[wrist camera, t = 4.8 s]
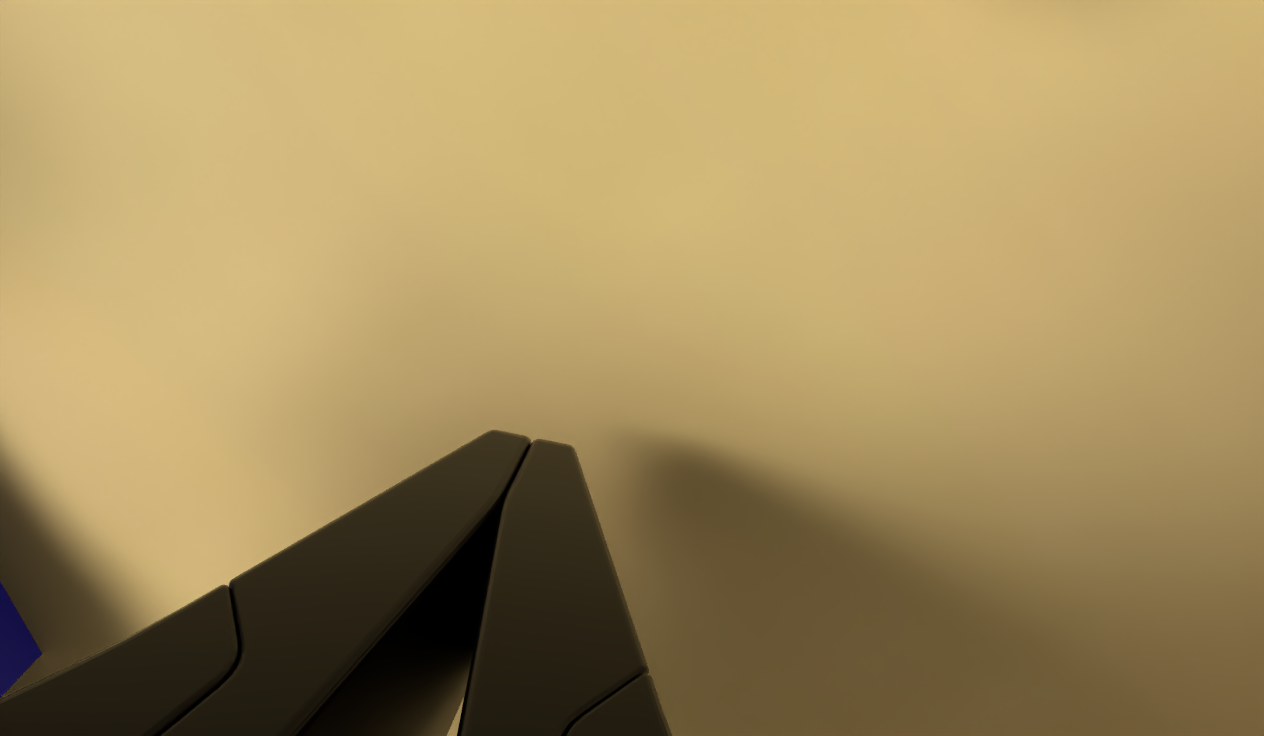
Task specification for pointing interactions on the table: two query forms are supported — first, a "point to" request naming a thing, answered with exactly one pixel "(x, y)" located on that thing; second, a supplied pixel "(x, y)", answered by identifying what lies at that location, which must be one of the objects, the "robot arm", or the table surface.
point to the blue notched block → (14, 644)
